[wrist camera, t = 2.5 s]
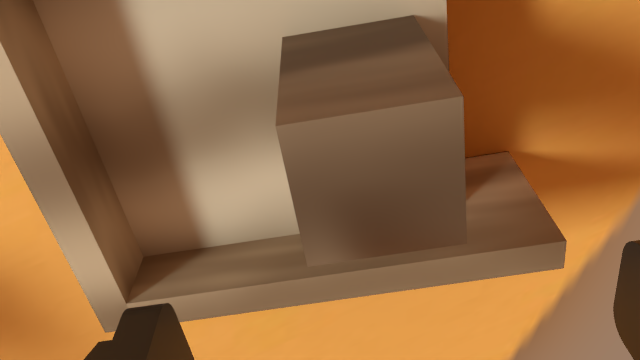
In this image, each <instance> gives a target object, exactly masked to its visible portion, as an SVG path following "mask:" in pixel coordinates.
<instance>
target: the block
mask: <svg viewBox="0 0 640 360" xmlns="http://www.w3.org/2000/svg"><path fill="white" fill-rule="evenodd" d="M275 127H276V131H277V136H278V140H279V144H280V149H281V153H282V158H283V162H284V166H285V171H286V175H287V180H288V184H289V188H290V193H291V197H292V201H293V206H294V210H295V215H296V219H297V223H298V228H299V232H300V237H301V241H302V245H303V250H304V254H305V259H306V263H307V267H310V266H317V265H324V264H331V263H338V262H345V261H352V260H359V259H365V258H372V257H379V256H386V255H393V254H400V253H407V252H414V251H421V250H428V249H435V248H442V247H449V246H455V245H462V244H467V224H466V183H465V142H464V100H463V95H462V93H461V91H460V90H459V88H458V87H457V85H456V83H455V82H454V80H453V78H452V77H451V75H450V74H449V72H448V70H447V69H446V67H445V65H444V64H443V62H442V61H441V59H440V57H439V56H438V54H437V52H436V51H435V49H434V48H433V46H432V44H431V43H430V41H429V39H428V38H427V36H426V35H425V33H424V31H423V30H422V28H421V26H420V25H419V23H418V22H417V20H416V18H415V17H414V15H410V16H404V17H399V18H393V19H387V20H381V21H375V22H369V23H363V24H357V25H351V26H345V27H339V28H334V29H328V30H322V31H316V32H310V33H304V34H298V35H292V36H286V37H282V48H281V61H280V73H279V86H278V99H277V111H276V124H275Z"/></svg>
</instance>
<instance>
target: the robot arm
mask: <svg viewBox="0 0 640 360" xmlns="http://www.w3.org/2000/svg"><path fill="white" fill-rule="evenodd" d="M613 308H614V310H613V311H614V319H615V323H616V327H617V330H618V332H619V335H620V337H621V339H622V341H623V343H624V345H625V346H626V348H627V349H628V351H629V353H630V354H631V356H632V357H633V359H634V360H640V240H638V241H631V242H628V243H626V245H625V247H624V249H623V253H622V259H621V264H620V271H619V276H618V282H617V288H616V294H615V300H614V307H613ZM84 360H194V357H193V355H192V352H191V350H190V347H189V345H188V342H187V340H186V338H185V335H184V333H183V330H182V328H181V325H180V323H179V320H178V318H177V315H176V313H175V310H174V308H173V307H172V305H171V304H169V303H163V304H156V305H148V306H141V307H134V308H128V309H126V310H125V311H124V312H123V314H122V316H121V318H120V321H119V324H118V326H117V329H116V332H115V334H114V337H113V340H109V341H102V342H98V344H97V345H96V346H95V347H94V348H93V349H92V351H91V352H90V353H89V354H88V355H87V357H86V358H85V359H84Z"/></svg>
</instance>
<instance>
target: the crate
mask: <svg viewBox="0 0 640 360" xmlns="http://www.w3.org/2000/svg"><path fill="white" fill-rule="evenodd" d="M410 15H414V17H415V18H416V20H417V22H418V23H419V25H420V26H421V28H422V30H423V31H424V33H425V35H426V36H427V38H428V39H429V41H430V43H431V44H432V46H433V48H434V49H435V51H436V52H437V54H438V56H439V57H440V59H441V61H442V62H443V64H444V65H445V67H446V69H447V70H448V72H449V56H448V29H447V3H446V0H0V134H1V136H2V138H3V140H4V142H5V144H6V146H7V148H8V150H9V151H10V153H11V155H12V157H13V159H14V161H15V163H16V165H17V167H18V168H19V170H20V172H21V174H22V176H23V178H24V180H25V182H26V184H27V185H28V187H29V189H30V191H31V193H32V195H33V197H34V199H35V201H36V202H37V204H38V206H39V208H40V210H41V212H42V214H43V216H44V218H45V219H46V221H47V223H48V225H49V227H50V229H51V231H52V233H53V235H54V236H55V238H56V240H57V242H58V244H59V246H60V248H61V250H62V252H63V253H64V255H65V257H66V259H67V261H68V263H69V265H70V267H71V269H72V270H73V272H74V274H75V276H76V278H77V280H78V282H79V284H80V286H81V287H82V289H83V291H84V293H85V295H86V297H87V299H88V301H89V303H90V304H91V306H92V308H93V310H94V312H95V314H96V316H97V318H98V320H99V321H100V323H101V325H102V327H103V329H104V331H105V333H106V332H113V331H116V329H117V326H118V324H119V321H120V318H121V316H122V314H123V312H124V311H125V310H126V309H128V308H134V307H141V306H148V305H156V304H163V303H169V304H171V305H172V307H173V308H174V310H175V313H176V315H177V318H178V320H179V322H184V321H191V320H198V319H205V318H213V317H220V316H227V315H234V314H241V313H248V312H255V311H262V310H270V309H277V308H284V307H291V306H298V305H305V304H312V303H319V302H326V301H334V300H341V299H348V298H355V297H362V296H369V295H376V294H383V293H391V292H398V291H405V290H412V289H419V288H426V287H433V286H440V285H447V284H455V283H462V282H469V281H476V280H483V279H490V278H497V277H504V276H512V275H519V274H526V273H533V272H540V271H547V270H554V269H561V268H564V262H565V252H566V242H567V241H566V239H565V238H564V236H563V235H562V233H561V232H560V230H559V228H558V227H557V225H556V224H555V222H554V221H553V219H552V218H551V216H550V215H549V213H548V212H547V210H546V208H545V207H544V205H543V204H542V202H541V201H540V199H539V198H538V196H537V195H536V193H535V192H534V190H533V188H532V187H531V185H530V184H529V182H528V181H527V179H526V178H525V176H524V175H523V173H522V172H521V170H520V168H519V167H518V165H517V164H516V162H515V161H514V159H513V158H512V156H511V155H510V153H509V152H503V153H496V154H490V155H483V156H477V157H470V158H465V183H466V224H467V244H462V245H455V246H449V247H442V248H435V249H428V250H421V251H414V252H407V253H400V254H393V255H386V256H379V257H372V258H365V259H359V260H352V261H345V262H338V263H331V264H324V265H317V266H310V267H307V263H306V259H305V254H304V250H303V245H302V241H301V237H300V232H299V228H298V223H297V219H296V215H295V210H294V206H293V201H292V197H291V193H290V188H289V184H288V180H287V175H286V171H285V166H284V162H283V158H282V153H281V149H280V144H279V140H278V136H277V131H276V127H275V124H276V111H277V99H278V86H279V73H280V61H281V48H282V37H286V36H292V35H298V34H304V33H310V32H316V31H322V30H328V29H334V28H339V27H345V26H351V25H357V24H363V23H369V22H375V21H381V20H387V19H393V18H399V17H404V16H410Z"/></svg>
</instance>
